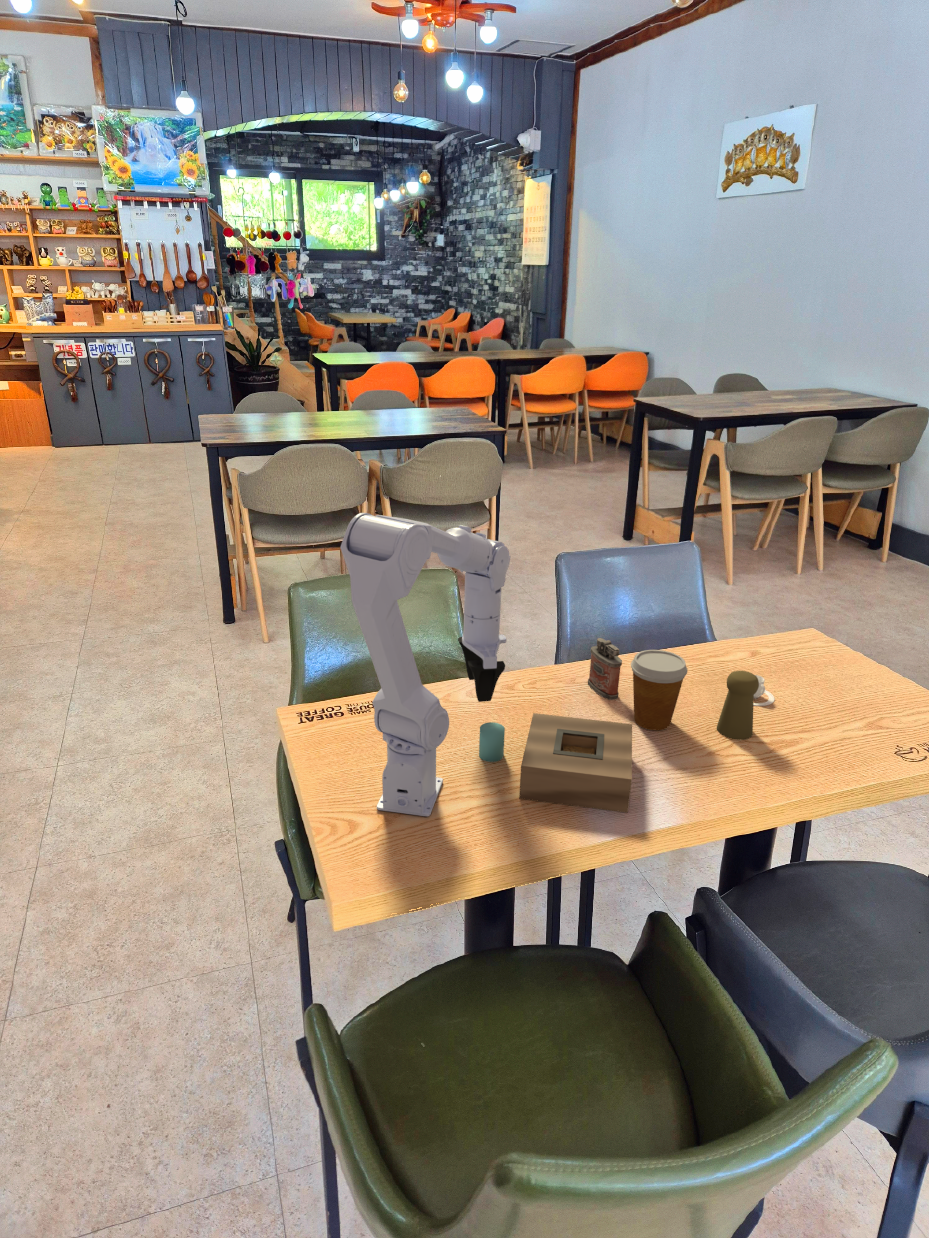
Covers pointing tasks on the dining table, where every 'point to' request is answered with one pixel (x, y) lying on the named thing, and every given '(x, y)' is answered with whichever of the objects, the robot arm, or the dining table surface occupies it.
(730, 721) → the olive green pawn
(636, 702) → the disposable coffee cup
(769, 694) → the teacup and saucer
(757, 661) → the dining table surface
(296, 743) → the dining table surface
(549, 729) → the block
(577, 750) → the beige square pad
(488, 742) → the peg
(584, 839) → the dining table surface
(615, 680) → the lighter
